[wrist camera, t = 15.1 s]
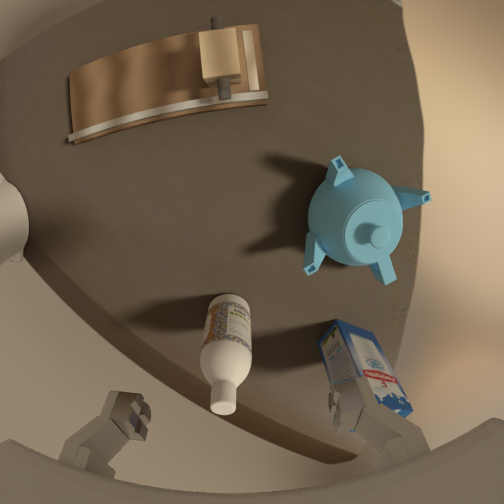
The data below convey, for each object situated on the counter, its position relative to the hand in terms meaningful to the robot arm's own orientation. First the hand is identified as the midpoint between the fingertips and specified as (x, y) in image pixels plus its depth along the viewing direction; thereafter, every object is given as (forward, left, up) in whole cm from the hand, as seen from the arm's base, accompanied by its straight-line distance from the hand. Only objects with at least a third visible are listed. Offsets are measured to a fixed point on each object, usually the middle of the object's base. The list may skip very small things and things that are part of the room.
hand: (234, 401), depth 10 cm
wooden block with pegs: (0, +20, -29) cm, 35 cm away
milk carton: (+17, -27, -31) cm, 45 cm away
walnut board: (-9, +20, -31) cm, 38 cm away
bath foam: (-4, -17, -31) cm, 36 cm away
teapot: (+16, -2, -31) cm, 35 cm away
